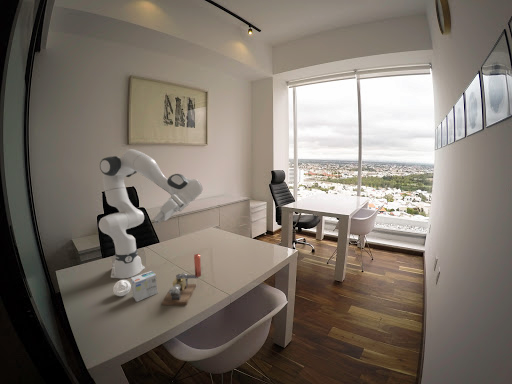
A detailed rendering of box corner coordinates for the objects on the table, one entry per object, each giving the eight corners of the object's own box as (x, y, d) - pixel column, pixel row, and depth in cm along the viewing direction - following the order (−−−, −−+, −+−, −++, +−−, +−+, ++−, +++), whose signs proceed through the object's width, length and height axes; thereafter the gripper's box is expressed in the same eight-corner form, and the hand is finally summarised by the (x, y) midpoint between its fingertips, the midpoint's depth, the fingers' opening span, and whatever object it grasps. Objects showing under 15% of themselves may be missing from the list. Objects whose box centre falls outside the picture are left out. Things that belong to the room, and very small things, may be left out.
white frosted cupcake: (114, 301, 115) (113, 286, 114) (113, 294, 121) (111, 280, 120) (132, 295, 119) (131, 281, 118) (130, 288, 125) (129, 275, 124)
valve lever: (177, 277, 119) (176, 253, 117) (202, 277, 119) (200, 253, 117) (175, 280, 116) (173, 256, 114) (200, 280, 116) (199, 256, 114)
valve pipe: (180, 284, 126) (179, 272, 125) (188, 284, 126) (188, 272, 125) (170, 300, 112) (169, 287, 111) (179, 300, 112) (178, 287, 111)
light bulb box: (153, 288, 126) (151, 270, 124) (158, 293, 121) (156, 274, 119) (132, 296, 118) (130, 277, 117) (136, 302, 114) (134, 282, 112)
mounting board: (174, 286, 127) (174, 283, 127) (196, 286, 127) (195, 284, 127) (162, 304, 111) (161, 302, 111) (186, 305, 111) (186, 302, 111)
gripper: (171, 204, 127) (151, 221, 120) (173, 193, 109) (149, 212, 102) (179, 212, 127) (159, 229, 121) (183, 202, 109) (159, 222, 103)
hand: (154, 221), depth 111 cm, fingers open, 8 cm apart
